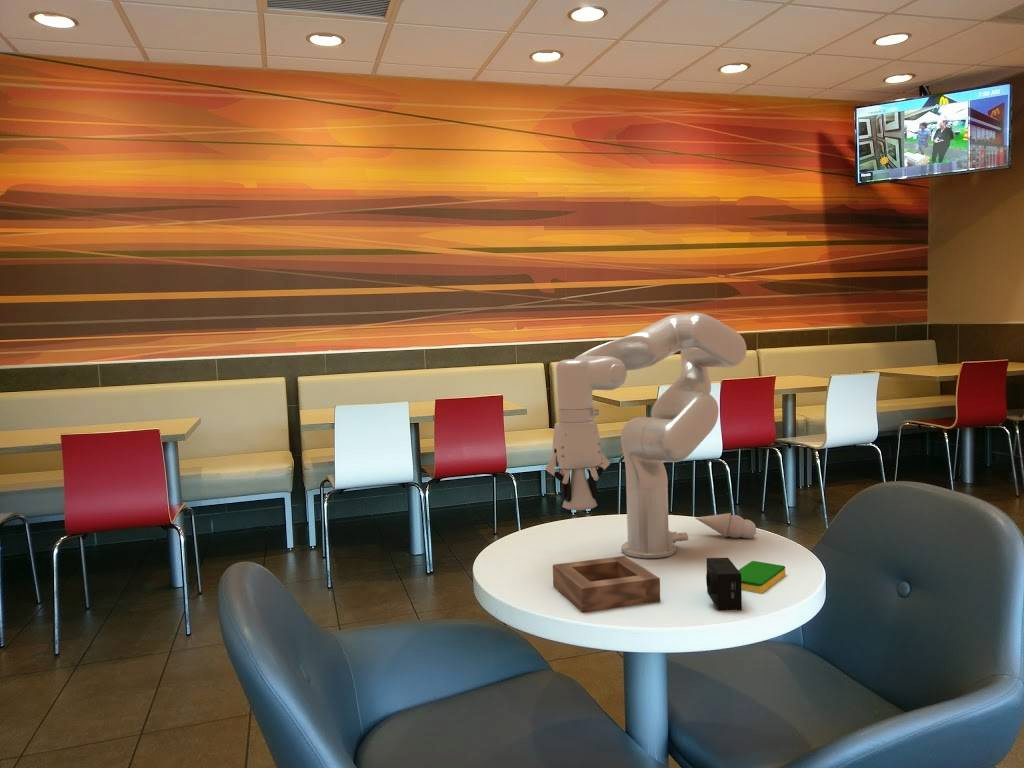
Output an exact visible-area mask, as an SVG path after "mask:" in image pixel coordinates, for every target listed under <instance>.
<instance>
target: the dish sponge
mask: <svg viewBox="0 0 1024 768" xmlns="http://www.w3.org/2000/svg"><path fill="white" fill-rule="evenodd" d="M738 571H739V572H740V573H741V589H742V591H743V592H744V591H745V592H749V593H757V594H763V593H764V592H766V591H767V590H768V589H770V588H771V587H772V586H773V585H775V584H776V583H777V582H779V581H780V580H782V577H783V576H784V577H785V576H786V566H785V565H782V564H775V563H770V562H764V561H763V562H762V561H756V560H751V561H750V562H749V563H747V564H746V565H743V566H742V567H741V568H739V569H738ZM784 577H783V578H784ZM779 579H780V580H779ZM778 580H779V581H778ZM774 583H775V584H774Z"/></svg>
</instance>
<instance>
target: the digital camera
mask: <svg viewBox="0 0 1024 768" xmlns="http://www.w3.org/2000/svg"><path fill="white" fill-rule="evenodd" d="M705 560H706V574H705V579H706V580H705V582H706V592H707V594H708V596H709V597H710V598H711V600H712V603H713V604H714V605H715V607H716V608H717V610H718V611H720V612H721V611H723V612H724V611H743V609H742V608H743V601H742V598H743V597H742V591H743V590H742V589H741V573H740V572H739V571H738V570H739V569H738V568H737V567H736V566H735V564H734V563H733V562H732V561H731V559H730V558H729V557H706V558H705Z"/></svg>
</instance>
